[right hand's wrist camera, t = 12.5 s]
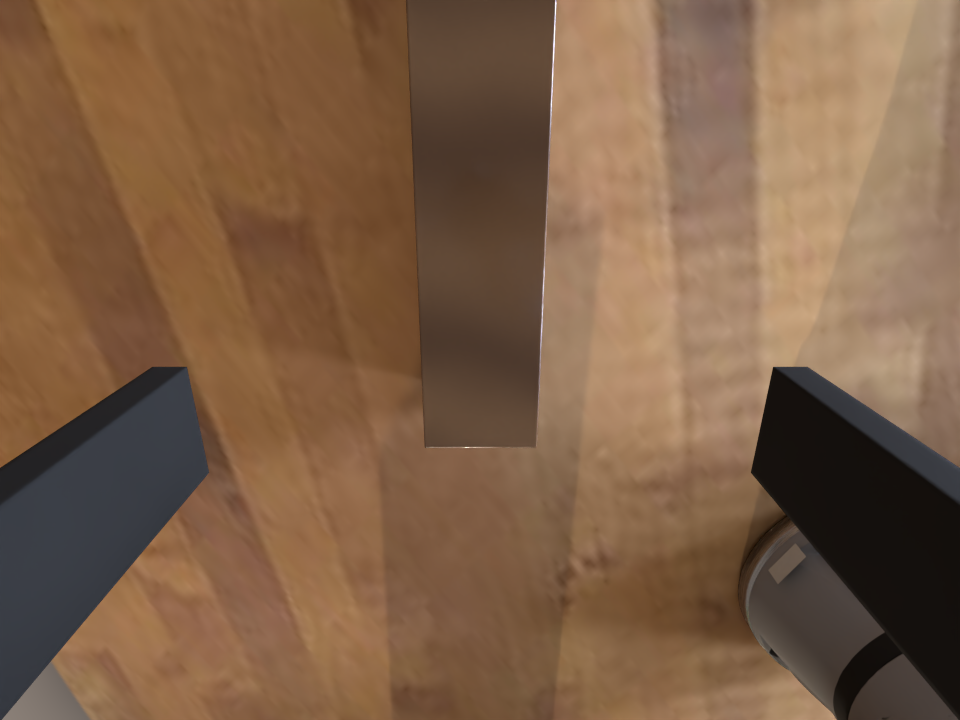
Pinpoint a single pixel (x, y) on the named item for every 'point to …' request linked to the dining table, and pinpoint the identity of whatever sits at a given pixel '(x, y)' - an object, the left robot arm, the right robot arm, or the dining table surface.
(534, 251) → the board
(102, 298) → the dining table surface
